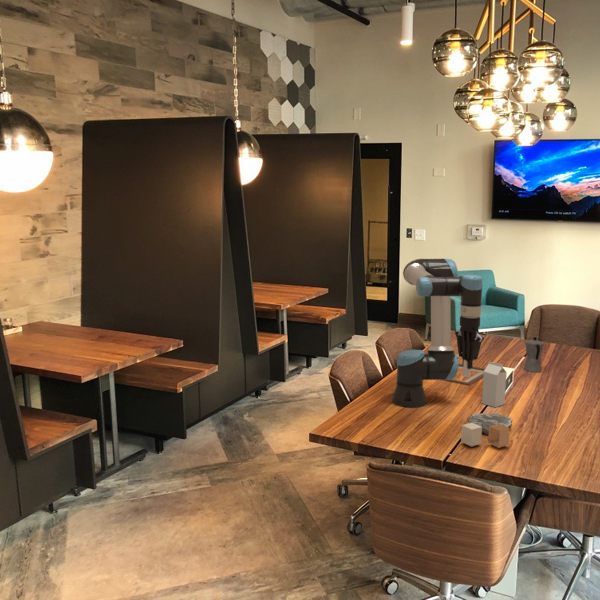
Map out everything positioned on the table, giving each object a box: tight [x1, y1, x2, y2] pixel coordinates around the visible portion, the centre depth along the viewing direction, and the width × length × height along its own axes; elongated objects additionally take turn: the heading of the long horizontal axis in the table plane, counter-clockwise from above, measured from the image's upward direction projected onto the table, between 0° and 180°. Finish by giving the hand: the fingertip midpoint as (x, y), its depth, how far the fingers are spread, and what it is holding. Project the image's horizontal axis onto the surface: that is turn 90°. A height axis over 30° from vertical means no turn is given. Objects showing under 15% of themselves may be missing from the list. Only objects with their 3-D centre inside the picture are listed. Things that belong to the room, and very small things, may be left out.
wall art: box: [442, 363, 486, 387], centre depth 347 cm, size 31×2×38 cm
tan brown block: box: [487, 424, 511, 449], centre depth 250 cm, size 5×5×8 cm
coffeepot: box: [523, 336, 545, 373], centre depth 349 cm, size 15×9×18 cm, turn 175°
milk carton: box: [481, 361, 507, 408], centre depth 296 cm, size 7×7×19 cm
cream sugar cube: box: [460, 422, 483, 447], centre depth 251 cm, size 5×5×7 cm
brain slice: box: [466, 412, 514, 436], centre depth 270 cm, size 20×17×3 cm
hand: (466, 376), depth 256 cm, fingers closed
